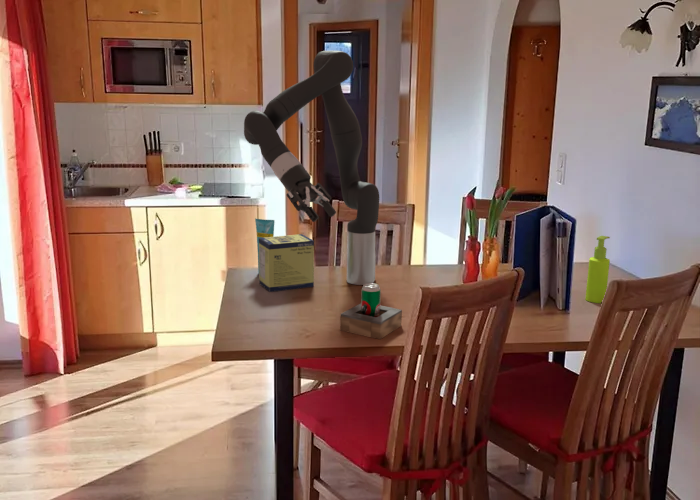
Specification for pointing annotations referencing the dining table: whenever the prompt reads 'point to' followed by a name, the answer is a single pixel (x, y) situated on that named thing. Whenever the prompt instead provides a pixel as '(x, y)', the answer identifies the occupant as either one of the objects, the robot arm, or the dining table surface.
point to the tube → (264, 231)
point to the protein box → (286, 262)
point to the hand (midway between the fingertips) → (325, 217)
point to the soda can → (370, 300)
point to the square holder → (371, 322)
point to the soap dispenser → (597, 273)
